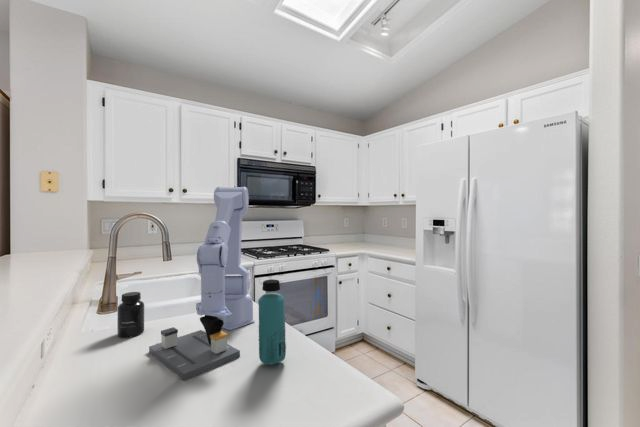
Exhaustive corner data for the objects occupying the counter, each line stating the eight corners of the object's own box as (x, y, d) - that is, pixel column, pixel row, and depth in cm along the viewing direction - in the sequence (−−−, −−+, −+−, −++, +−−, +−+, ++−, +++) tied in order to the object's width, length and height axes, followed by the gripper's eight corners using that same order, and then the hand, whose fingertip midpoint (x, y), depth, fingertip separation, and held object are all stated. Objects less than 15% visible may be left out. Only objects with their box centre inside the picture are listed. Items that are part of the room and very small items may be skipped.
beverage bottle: (281, 372, 68) (280, 284, 68) (253, 369, 69) (252, 283, 69) (289, 358, 74) (289, 277, 74) (264, 356, 76) (263, 276, 75)
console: (200, 335, 89) (200, 329, 89) (239, 356, 75) (239, 350, 75) (149, 352, 78) (149, 346, 78) (184, 380, 65) (184, 373, 65)
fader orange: (222, 346, 77) (221, 331, 77) (227, 349, 76) (227, 333, 76) (210, 350, 75) (210, 335, 75) (215, 354, 73) (215, 337, 73)
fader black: (173, 342, 80) (173, 327, 80) (178, 345, 78) (177, 329, 78) (161, 346, 78) (160, 330, 78) (165, 349, 76) (164, 333, 76)
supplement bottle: (123, 340, 85) (122, 298, 85) (113, 334, 89) (113, 294, 89) (148, 332, 91) (148, 293, 91) (138, 327, 95) (138, 289, 95)
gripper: (184, 289, 79) (185, 340, 79) (213, 300, 69) (214, 358, 69) (209, 284, 84) (210, 332, 84) (239, 293, 74) (240, 348, 74)
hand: (213, 343), depth 77 cm, fingers closed
